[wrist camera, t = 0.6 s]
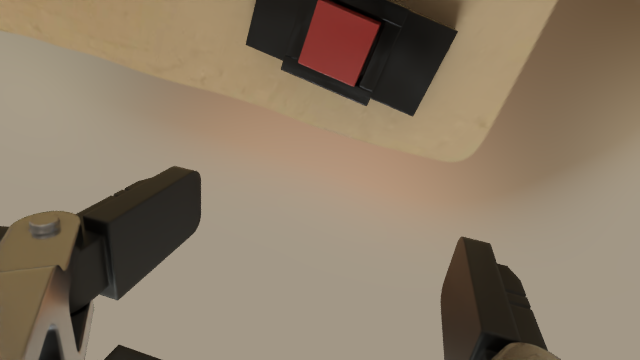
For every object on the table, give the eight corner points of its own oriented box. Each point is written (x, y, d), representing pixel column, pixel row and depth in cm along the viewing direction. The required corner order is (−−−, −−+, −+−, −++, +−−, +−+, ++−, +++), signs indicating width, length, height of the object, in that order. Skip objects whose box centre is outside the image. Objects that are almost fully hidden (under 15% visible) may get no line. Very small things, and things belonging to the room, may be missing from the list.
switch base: (253, 43, 32) (235, 50, 28) (277, -50, 28) (258, -55, 25) (411, 111, 32) (412, 126, 28) (456, 26, 28) (462, 32, 25)
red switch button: (304, 58, 28) (297, 63, 26) (324, -2, 26) (318, -2, 24) (357, 80, 28) (353, 87, 26) (381, 22, 26) (379, 25, 24)
